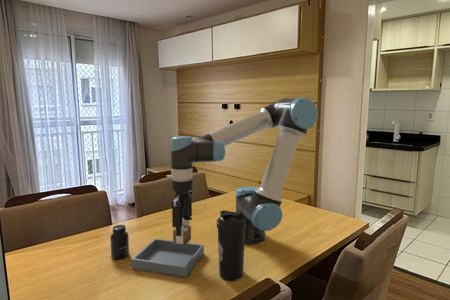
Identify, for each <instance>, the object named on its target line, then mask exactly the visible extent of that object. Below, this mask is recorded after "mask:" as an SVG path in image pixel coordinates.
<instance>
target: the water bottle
mask: <svg viewBox="0 0 450 300" xmlns="http://www.w3.org/2000/svg"><path fill="white" fill-rule="evenodd" d="M219 214H220V216H219V217H218V218H217V220H216V228H217V246H218V247H217V248H218V249H217V250H218V272H219V273H218V274H219V277H220V278H221V279H222V280H224V281H227V282H235V281H239V280H241V279H242V278H243V277H242V276H244V263H245V261H244V260H245V259H244V257H245V244H244V241H245V228H246V220H245V219H244V217H243V214H242V212H241V211H240V210H238V211H237V212H236V211H229V210H223V209H222V210H220V211H219ZM240 278H241V279H240ZM238 279H239V280H238Z"/></svg>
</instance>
